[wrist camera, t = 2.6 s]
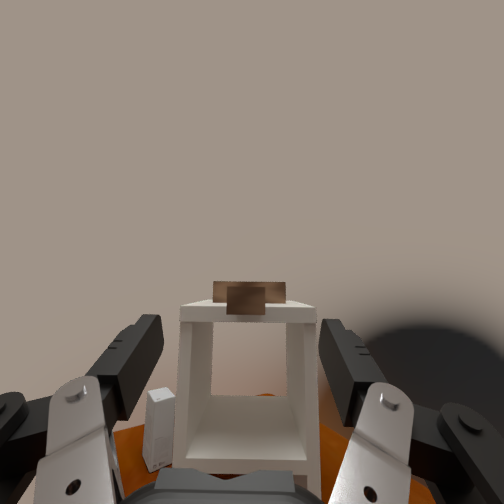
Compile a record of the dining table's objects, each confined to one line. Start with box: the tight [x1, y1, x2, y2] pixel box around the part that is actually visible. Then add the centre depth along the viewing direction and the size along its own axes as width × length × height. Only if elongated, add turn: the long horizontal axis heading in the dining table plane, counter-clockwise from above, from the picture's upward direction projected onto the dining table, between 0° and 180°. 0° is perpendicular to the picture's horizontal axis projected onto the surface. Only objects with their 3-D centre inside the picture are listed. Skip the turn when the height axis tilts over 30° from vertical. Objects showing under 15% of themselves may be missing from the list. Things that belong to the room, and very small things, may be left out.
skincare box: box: [142, 387, 176, 473], centre depth 47 cm, size 6×4×12 cm
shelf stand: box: [172, 300, 321, 500], centre depth 37 cm, size 18×18×31 cm
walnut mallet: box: [213, 281, 286, 315], centre depth 35 cm, size 12×28×4 cm, turn 0°
